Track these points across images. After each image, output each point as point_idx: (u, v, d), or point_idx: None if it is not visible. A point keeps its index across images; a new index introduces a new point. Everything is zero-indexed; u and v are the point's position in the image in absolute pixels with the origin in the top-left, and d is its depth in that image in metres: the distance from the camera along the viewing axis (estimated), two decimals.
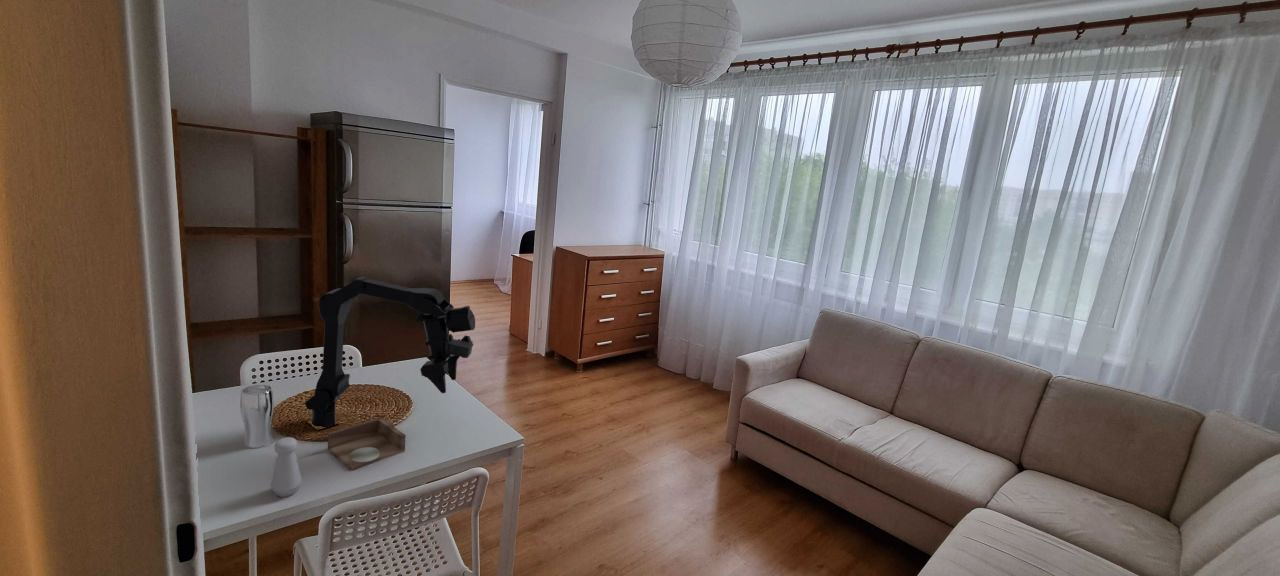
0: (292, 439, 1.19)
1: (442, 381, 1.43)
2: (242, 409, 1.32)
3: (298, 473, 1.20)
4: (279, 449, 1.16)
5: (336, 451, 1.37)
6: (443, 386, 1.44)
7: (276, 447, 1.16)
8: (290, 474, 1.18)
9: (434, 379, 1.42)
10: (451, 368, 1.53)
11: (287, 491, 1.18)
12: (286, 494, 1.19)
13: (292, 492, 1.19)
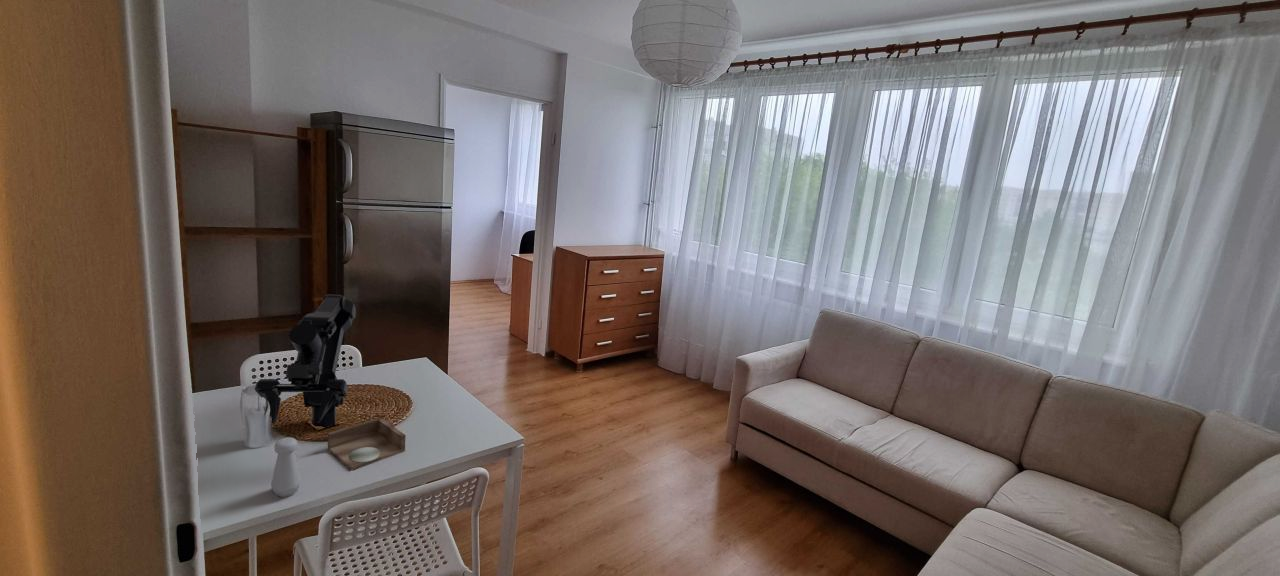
0: (292, 439, 1.19)
1: None
2: (242, 409, 1.32)
3: (298, 473, 1.20)
4: (279, 449, 1.16)
5: (336, 451, 1.37)
6: None
7: (276, 447, 1.16)
8: (290, 474, 1.18)
9: None
10: None
11: (287, 491, 1.18)
12: (286, 494, 1.19)
13: (292, 492, 1.19)
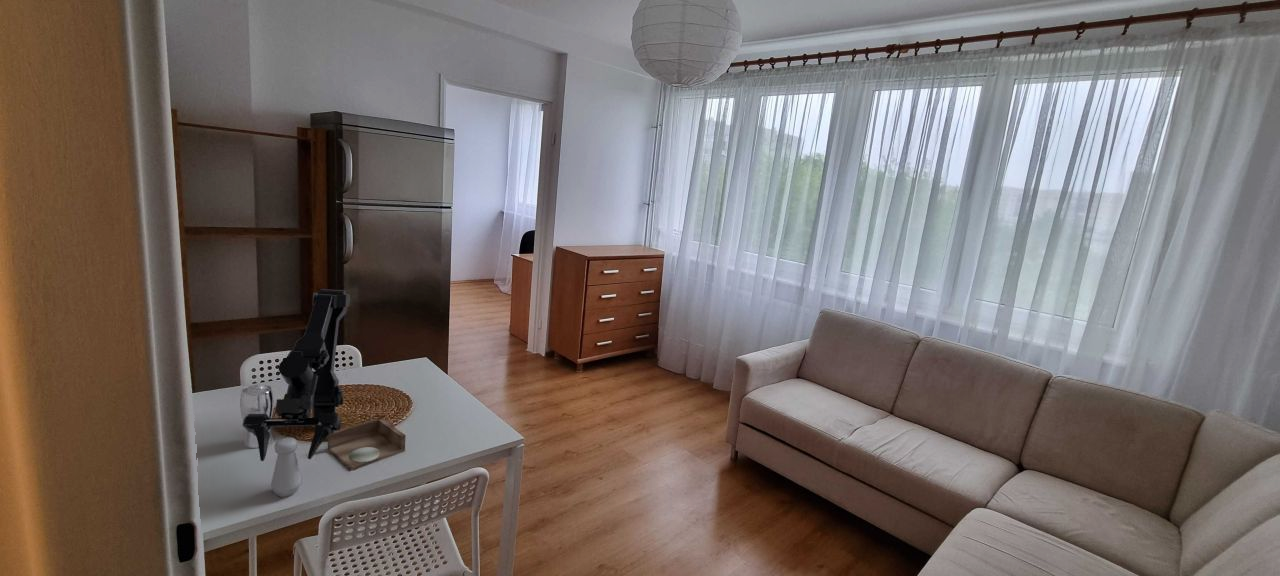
0: (292, 439, 1.19)
1: None
2: (242, 409, 1.32)
3: (298, 473, 1.20)
4: (279, 449, 1.16)
5: (336, 451, 1.37)
6: None
7: (277, 447, 1.16)
8: (290, 474, 1.18)
9: None
10: None
11: (287, 491, 1.18)
12: (286, 494, 1.19)
13: (292, 492, 1.19)
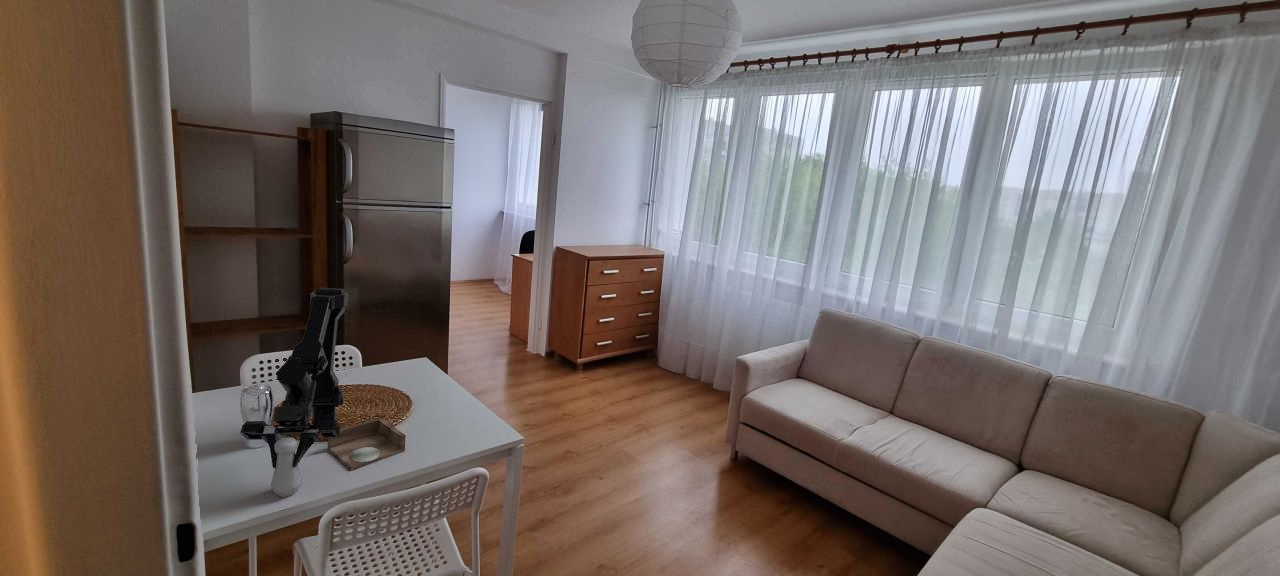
0: (292, 439, 1.19)
1: None
2: (242, 409, 1.32)
3: (298, 473, 1.20)
4: (279, 449, 1.16)
5: (336, 451, 1.37)
6: (271, 457, 1.17)
7: (276, 447, 1.16)
8: (290, 473, 1.18)
9: None
10: None
11: (287, 491, 1.18)
12: (286, 494, 1.19)
13: (292, 492, 1.19)
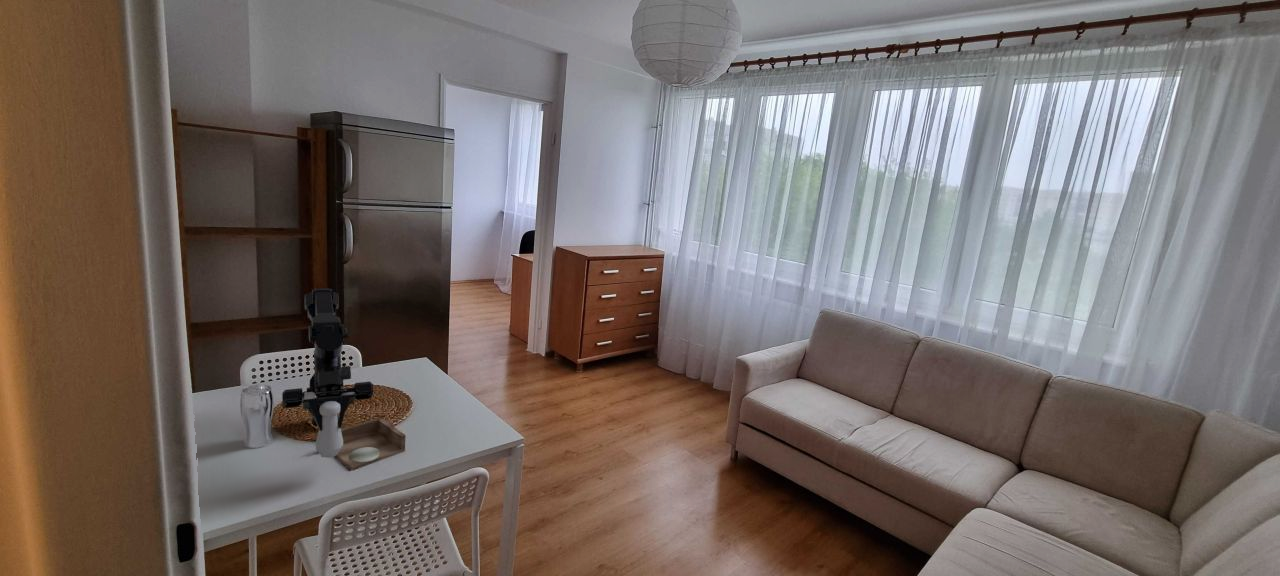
0: (335, 402, 1.24)
1: (314, 414, 1.23)
2: (242, 409, 1.32)
3: (341, 434, 1.26)
4: (327, 412, 1.22)
5: None
6: (316, 421, 1.23)
7: (324, 410, 1.22)
8: (336, 434, 1.24)
9: (313, 413, 1.25)
10: None
11: (334, 451, 1.24)
12: (332, 454, 1.25)
13: (337, 452, 1.26)
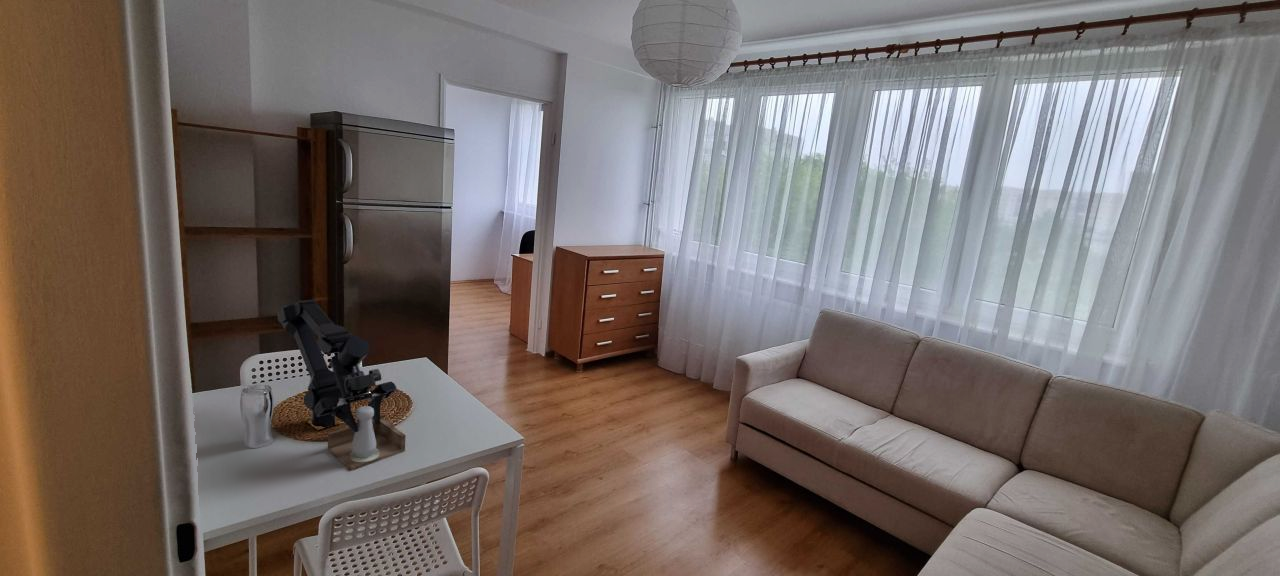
0: (368, 406, 1.35)
1: (347, 418, 1.32)
2: (242, 409, 1.32)
3: None
4: (366, 415, 1.33)
5: (336, 451, 1.37)
6: (351, 423, 1.32)
7: (362, 414, 1.32)
8: (372, 435, 1.36)
9: (343, 417, 1.33)
10: (374, 412, 1.37)
11: (372, 450, 1.36)
12: (370, 454, 1.36)
13: (373, 451, 1.37)
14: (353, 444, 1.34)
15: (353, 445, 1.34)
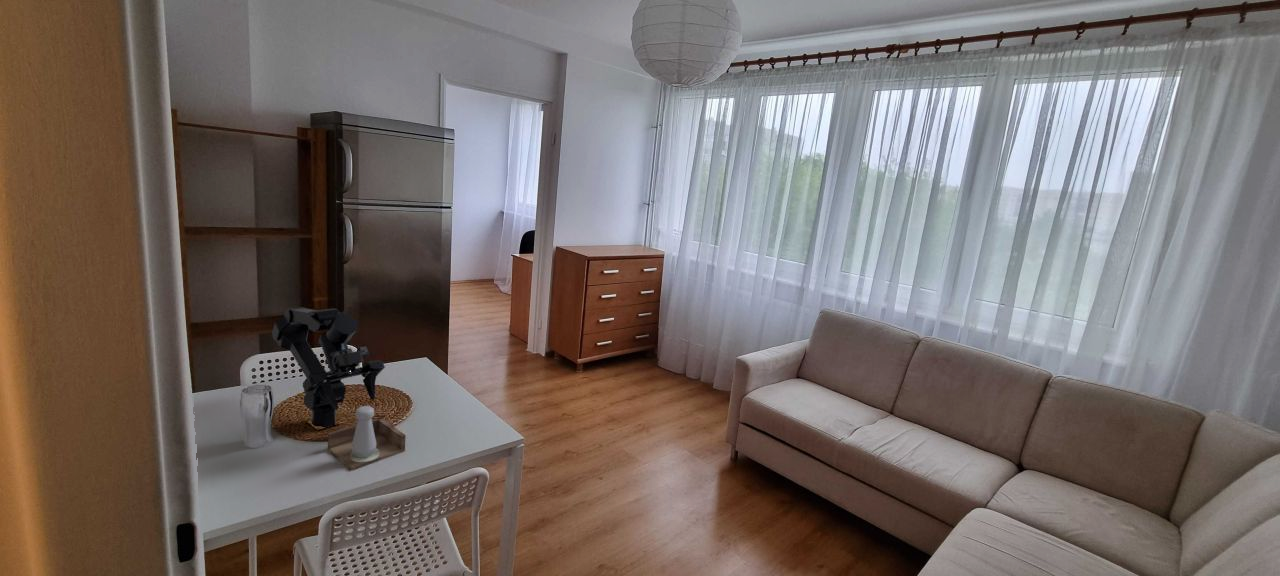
0: (368, 406, 1.35)
1: (327, 395, 1.33)
2: (242, 409, 1.32)
3: None
4: (366, 415, 1.33)
5: (336, 451, 1.37)
6: (331, 401, 1.33)
7: (362, 414, 1.32)
8: (372, 435, 1.36)
9: (323, 395, 1.34)
10: (369, 387, 1.42)
11: (372, 450, 1.36)
12: (370, 454, 1.36)
13: (373, 451, 1.37)
14: (353, 444, 1.34)
15: (353, 445, 1.34)
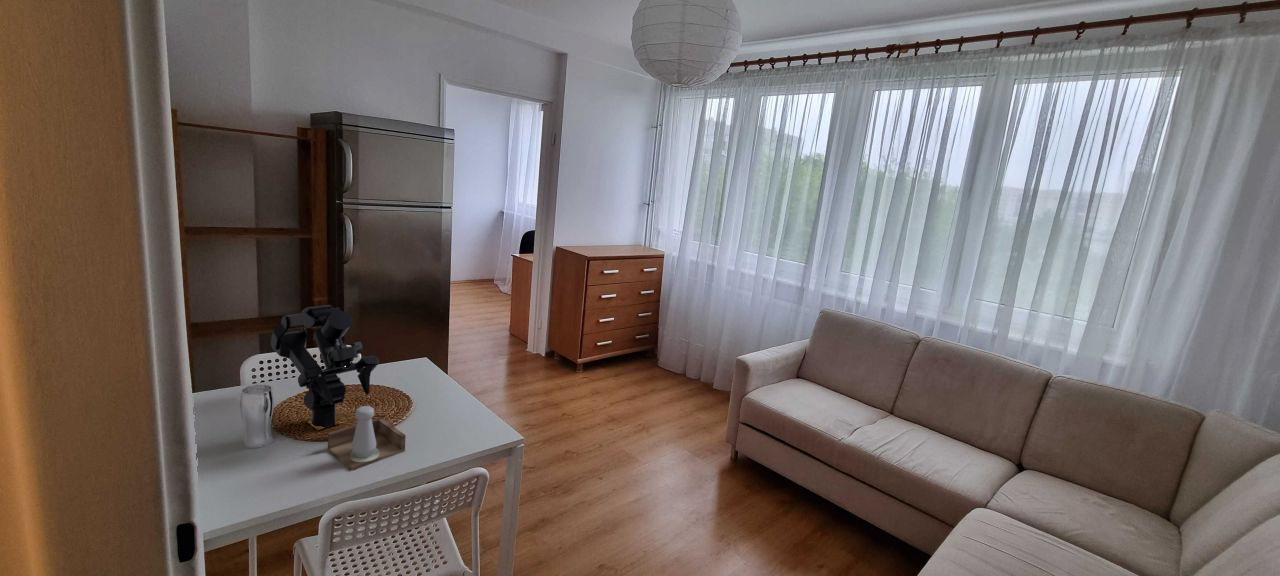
0: (368, 406, 1.35)
1: (322, 390, 1.34)
2: (242, 409, 1.32)
3: None
4: (366, 415, 1.33)
5: (336, 451, 1.37)
6: (326, 395, 1.34)
7: (362, 414, 1.32)
8: (372, 435, 1.36)
9: (318, 390, 1.36)
10: (364, 382, 1.43)
11: (372, 450, 1.36)
12: (370, 454, 1.36)
13: (373, 451, 1.37)
14: (353, 444, 1.34)
15: (353, 445, 1.34)
